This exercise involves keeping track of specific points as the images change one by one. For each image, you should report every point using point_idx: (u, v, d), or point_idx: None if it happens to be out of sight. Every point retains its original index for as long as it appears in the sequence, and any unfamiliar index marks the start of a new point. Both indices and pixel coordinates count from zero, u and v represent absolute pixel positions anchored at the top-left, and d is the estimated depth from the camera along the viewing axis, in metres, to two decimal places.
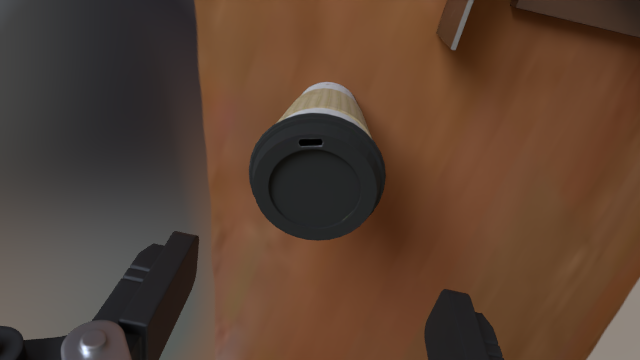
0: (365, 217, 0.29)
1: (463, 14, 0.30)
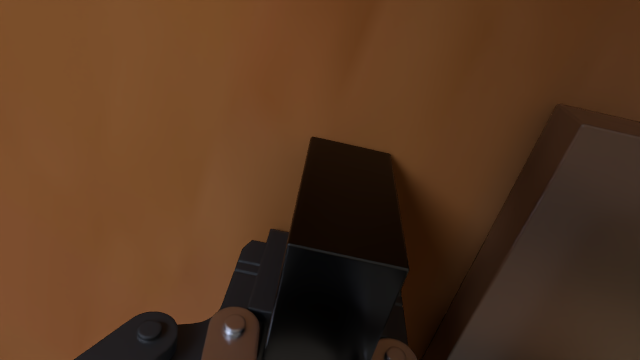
0: None
1: None
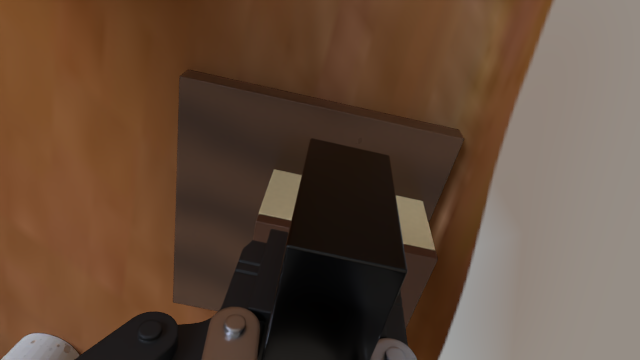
0: None
1: None
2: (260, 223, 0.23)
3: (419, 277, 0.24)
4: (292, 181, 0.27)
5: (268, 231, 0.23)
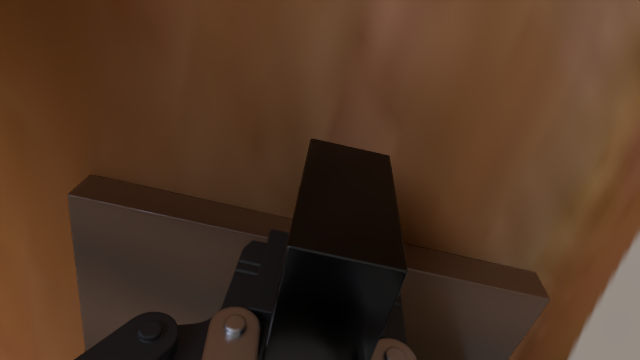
0: None
1: None
2: None
3: None
4: None
5: None
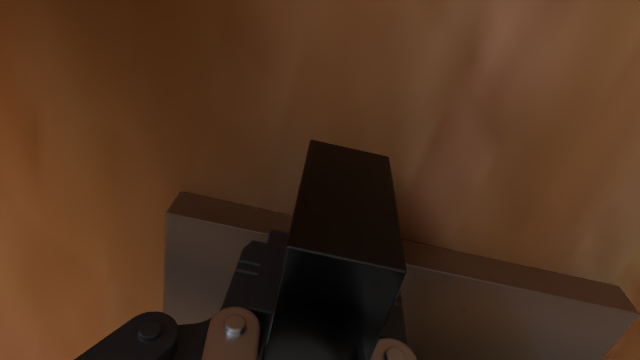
0: None
1: None
2: None
3: None
4: None
5: None
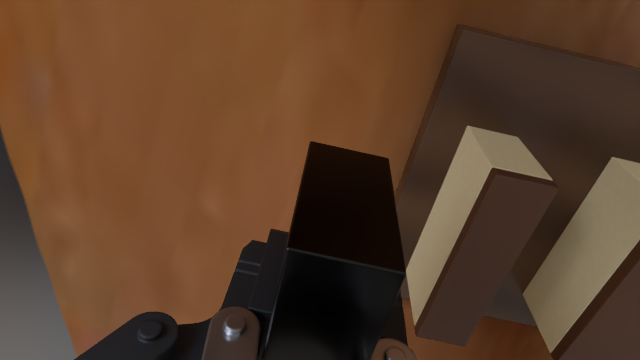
0: None
1: None
2: (500, 177, 0.20)
3: None
4: (495, 138, 0.24)
5: (507, 186, 0.20)
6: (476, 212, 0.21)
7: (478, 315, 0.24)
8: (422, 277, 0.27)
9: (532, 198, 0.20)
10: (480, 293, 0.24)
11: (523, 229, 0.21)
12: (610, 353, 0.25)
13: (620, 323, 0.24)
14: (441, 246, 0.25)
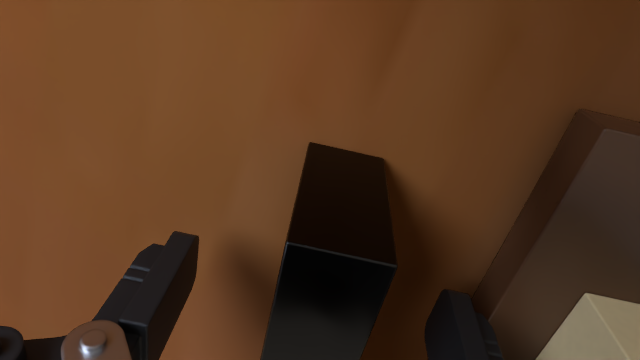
0: None
1: None
2: None
3: None
4: None
5: None
6: None
7: None
8: None
9: None
10: None
11: None
12: None
13: None
14: None
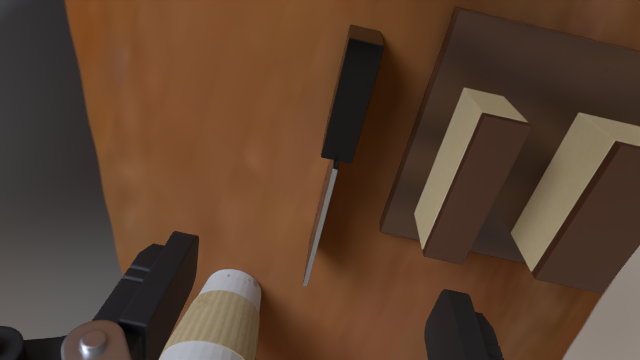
0: None
1: (308, 264, 0.35)
2: (488, 118, 0.26)
3: None
4: (485, 96, 0.31)
5: (493, 126, 0.27)
6: (470, 147, 0.28)
7: (473, 236, 0.31)
8: (428, 211, 0.33)
9: (512, 135, 0.27)
10: (474, 216, 0.30)
11: (506, 161, 0.28)
12: (578, 268, 0.32)
13: (584, 240, 0.30)
14: (443, 182, 0.31)
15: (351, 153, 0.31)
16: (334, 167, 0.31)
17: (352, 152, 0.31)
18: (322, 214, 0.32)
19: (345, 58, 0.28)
